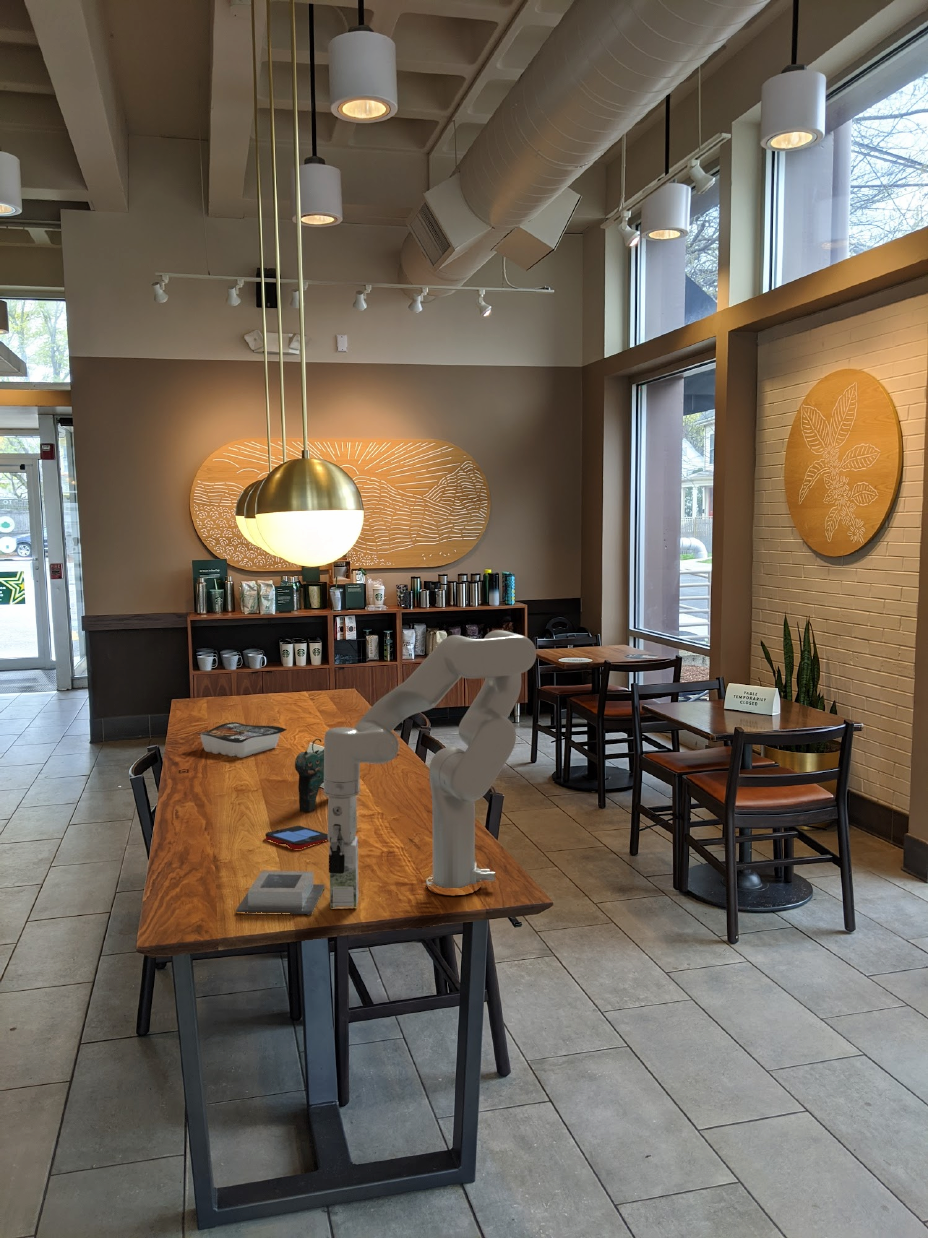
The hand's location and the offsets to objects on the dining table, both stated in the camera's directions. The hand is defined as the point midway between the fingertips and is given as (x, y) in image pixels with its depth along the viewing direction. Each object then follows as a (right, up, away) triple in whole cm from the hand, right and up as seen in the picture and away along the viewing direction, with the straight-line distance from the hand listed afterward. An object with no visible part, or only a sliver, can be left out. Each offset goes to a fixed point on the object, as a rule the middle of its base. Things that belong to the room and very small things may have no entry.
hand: (340, 864), depth 198 cm
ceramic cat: (-15, -2, +73) cm, 74 cm away
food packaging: (-55, +5, +138) cm, 148 cm away
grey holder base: (-13, -9, +3) cm, 16 cm away
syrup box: (+1, -9, +1) cm, 9 cm away
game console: (-17, -5, +43) cm, 46 cm away
